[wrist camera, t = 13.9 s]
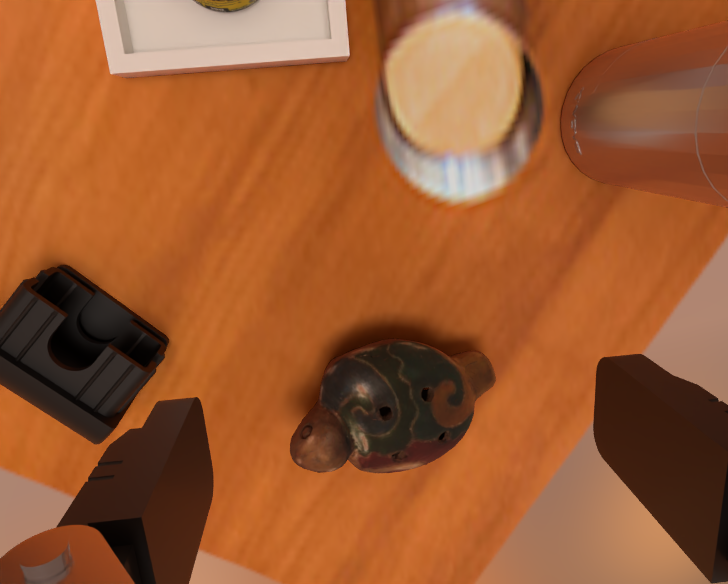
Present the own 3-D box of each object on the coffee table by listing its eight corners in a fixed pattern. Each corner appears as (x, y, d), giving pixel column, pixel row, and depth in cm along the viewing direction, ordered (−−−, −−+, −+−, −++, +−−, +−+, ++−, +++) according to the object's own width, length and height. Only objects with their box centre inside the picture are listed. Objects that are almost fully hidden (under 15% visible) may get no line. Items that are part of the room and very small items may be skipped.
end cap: (-2, 330, 39) (-63, 371, 33) (57, 256, 38) (5, 283, 32) (119, 411, 42) (85, 463, 35) (178, 343, 41) (153, 384, 34)
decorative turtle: (266, 369, 42) (262, 414, 34) (449, 287, 43) (486, 314, 35) (317, 473, 44) (325, 538, 37) (490, 395, 45) (534, 442, 37)
